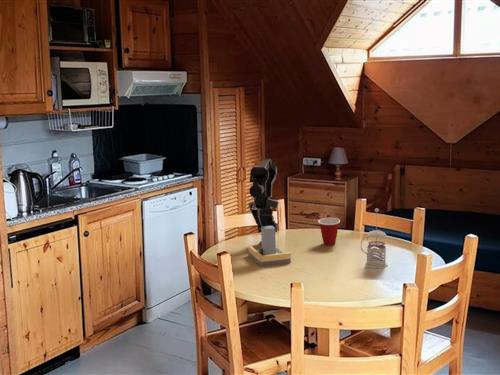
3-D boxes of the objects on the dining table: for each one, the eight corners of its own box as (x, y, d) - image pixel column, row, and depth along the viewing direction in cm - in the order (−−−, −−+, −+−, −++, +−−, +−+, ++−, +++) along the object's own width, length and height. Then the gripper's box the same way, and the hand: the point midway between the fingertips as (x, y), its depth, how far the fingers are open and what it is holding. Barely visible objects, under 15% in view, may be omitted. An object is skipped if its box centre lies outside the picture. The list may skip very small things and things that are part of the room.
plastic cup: (314, 245, 288) (314, 221, 286) (322, 240, 297) (322, 216, 295) (335, 247, 283) (335, 223, 281) (343, 242, 292) (343, 218, 290)
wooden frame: (248, 255, 274) (248, 246, 273) (277, 252, 278) (277, 242, 277) (260, 266, 257) (260, 256, 256) (290, 262, 261) (290, 253, 260)
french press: (388, 268, 249) (389, 211, 245) (360, 267, 252) (360, 210, 247) (387, 261, 259) (388, 206, 254) (360, 261, 261) (361, 205, 257)
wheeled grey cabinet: (258, 254, 269) (257, 226, 266) (274, 252, 271) (273, 224, 268) (264, 259, 261) (263, 230, 258) (280, 257, 263) (279, 229, 260)
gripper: (283, 195, 265) (283, 229, 268) (270, 188, 283) (270, 220, 286) (259, 197, 262) (260, 231, 265) (247, 190, 280) (248, 222, 283)
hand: (260, 226), depth 275 cm, fingers open, 9 cm apart
